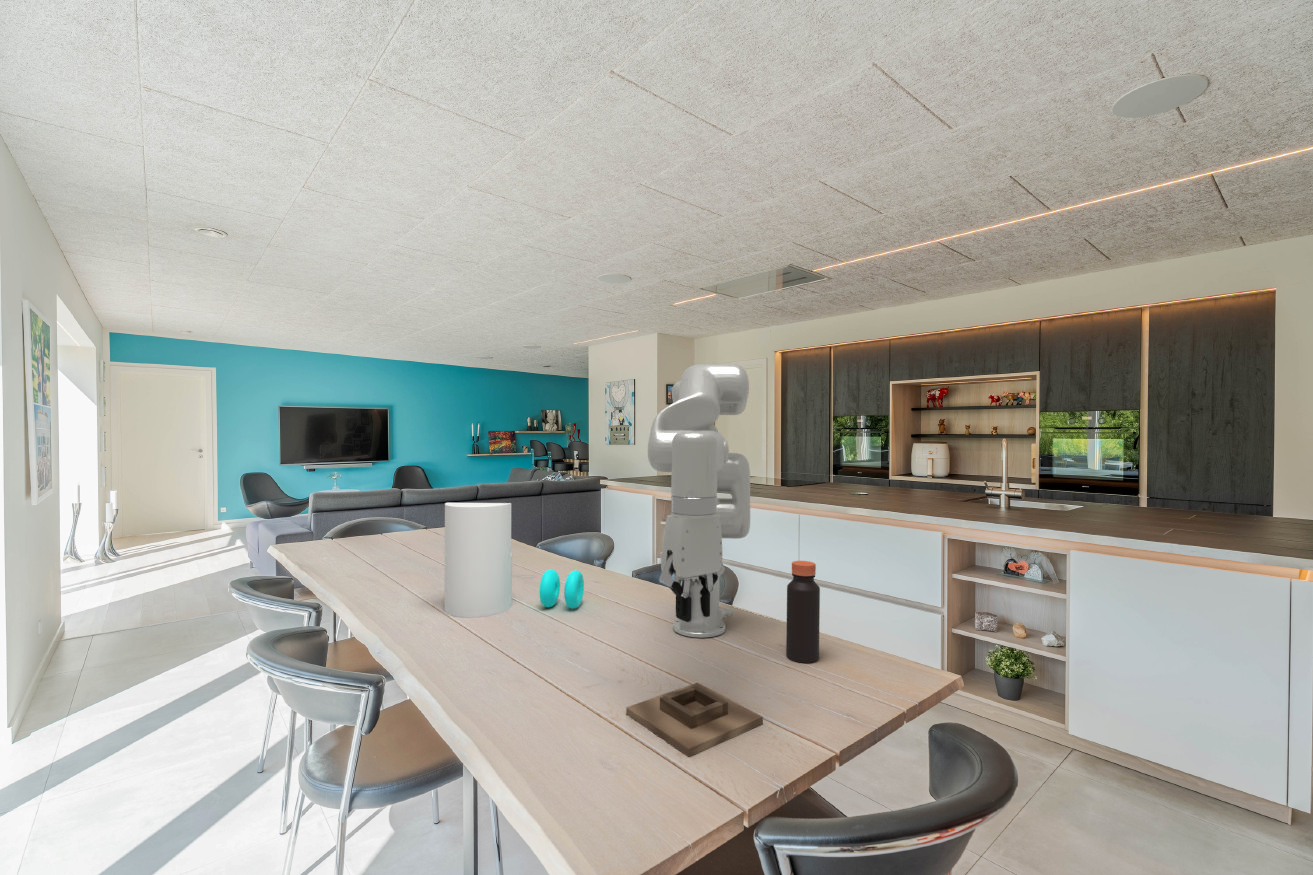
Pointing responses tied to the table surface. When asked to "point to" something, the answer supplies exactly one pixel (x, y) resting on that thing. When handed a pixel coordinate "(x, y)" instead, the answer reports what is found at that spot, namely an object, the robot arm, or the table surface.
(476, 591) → the cylinder
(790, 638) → the bottle
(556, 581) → the donuts
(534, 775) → the table surface
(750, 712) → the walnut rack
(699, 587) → the rook chess piece
